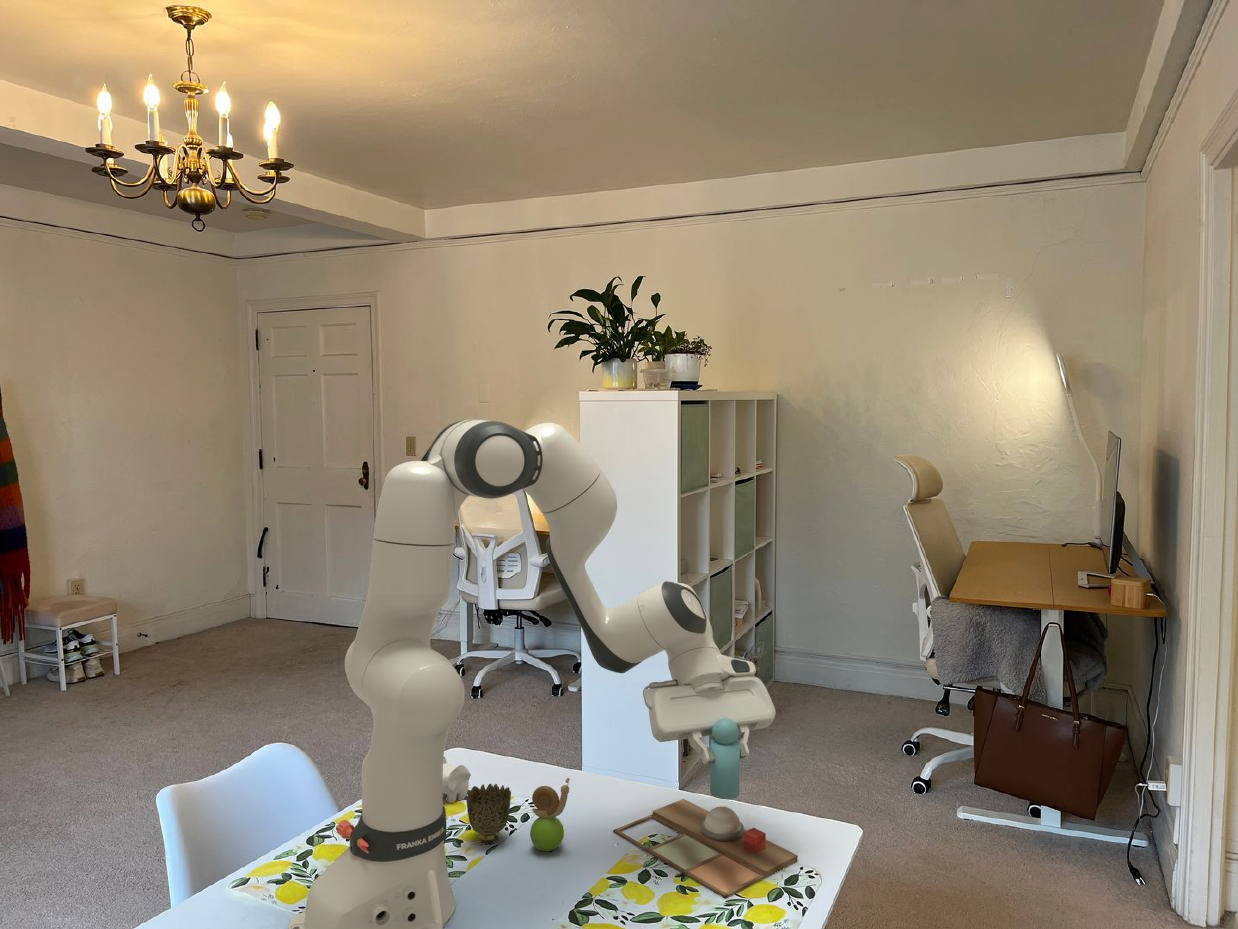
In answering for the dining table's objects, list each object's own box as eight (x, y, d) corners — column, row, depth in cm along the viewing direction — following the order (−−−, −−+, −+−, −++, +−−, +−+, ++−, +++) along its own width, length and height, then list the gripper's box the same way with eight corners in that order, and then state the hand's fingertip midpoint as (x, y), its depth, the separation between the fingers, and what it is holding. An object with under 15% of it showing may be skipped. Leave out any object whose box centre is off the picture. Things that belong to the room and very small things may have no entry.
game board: (725, 905, 126) (725, 865, 126) (613, 838, 146) (613, 803, 146) (797, 867, 137) (798, 830, 136) (683, 809, 157) (683, 777, 156)
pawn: (725, 802, 129) (726, 726, 128) (704, 791, 132) (704, 718, 131) (745, 793, 132) (746, 719, 131) (724, 784, 135) (724, 711, 134)
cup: (507, 851, 139) (507, 803, 139) (462, 850, 140) (461, 802, 139) (514, 829, 147) (514, 783, 146) (471, 828, 147) (470, 782, 147)
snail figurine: (564, 860, 137) (564, 786, 136) (526, 855, 138) (525, 782, 137) (573, 843, 142) (573, 772, 142) (535, 839, 144) (535, 768, 143)
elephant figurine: (412, 800, 158) (412, 762, 157) (456, 784, 164) (456, 747, 164) (436, 814, 152) (435, 775, 152) (480, 797, 159) (480, 759, 159)
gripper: (645, 674, 134) (669, 760, 125) (762, 661, 141) (793, 742, 132) (634, 693, 138) (657, 777, 130) (748, 680, 145) (777, 759, 137)
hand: (727, 759), depth 131 cm, fingers closed on pawn, 4 cm apart
